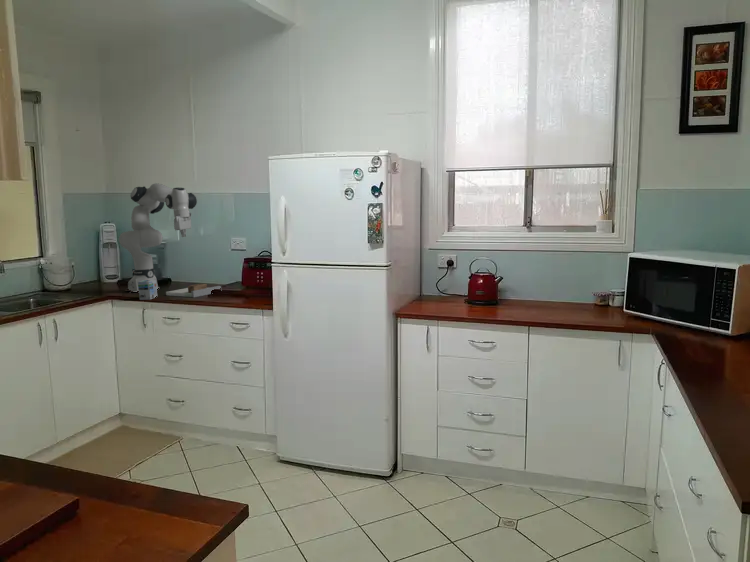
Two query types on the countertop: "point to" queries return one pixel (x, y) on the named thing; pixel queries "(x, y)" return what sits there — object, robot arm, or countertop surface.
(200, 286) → the walnut block
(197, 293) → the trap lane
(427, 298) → the countertop surface
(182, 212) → the robot arm
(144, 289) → the light bulb box
